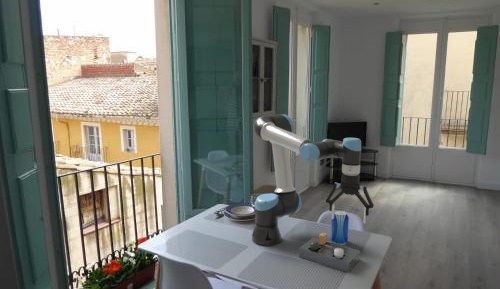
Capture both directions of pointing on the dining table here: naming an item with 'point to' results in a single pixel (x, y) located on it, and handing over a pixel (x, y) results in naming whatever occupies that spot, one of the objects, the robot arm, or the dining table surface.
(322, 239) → the toggle knob
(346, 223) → the beer can
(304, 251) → the panel
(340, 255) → the white button
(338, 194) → the robot arm
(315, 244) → the black button
